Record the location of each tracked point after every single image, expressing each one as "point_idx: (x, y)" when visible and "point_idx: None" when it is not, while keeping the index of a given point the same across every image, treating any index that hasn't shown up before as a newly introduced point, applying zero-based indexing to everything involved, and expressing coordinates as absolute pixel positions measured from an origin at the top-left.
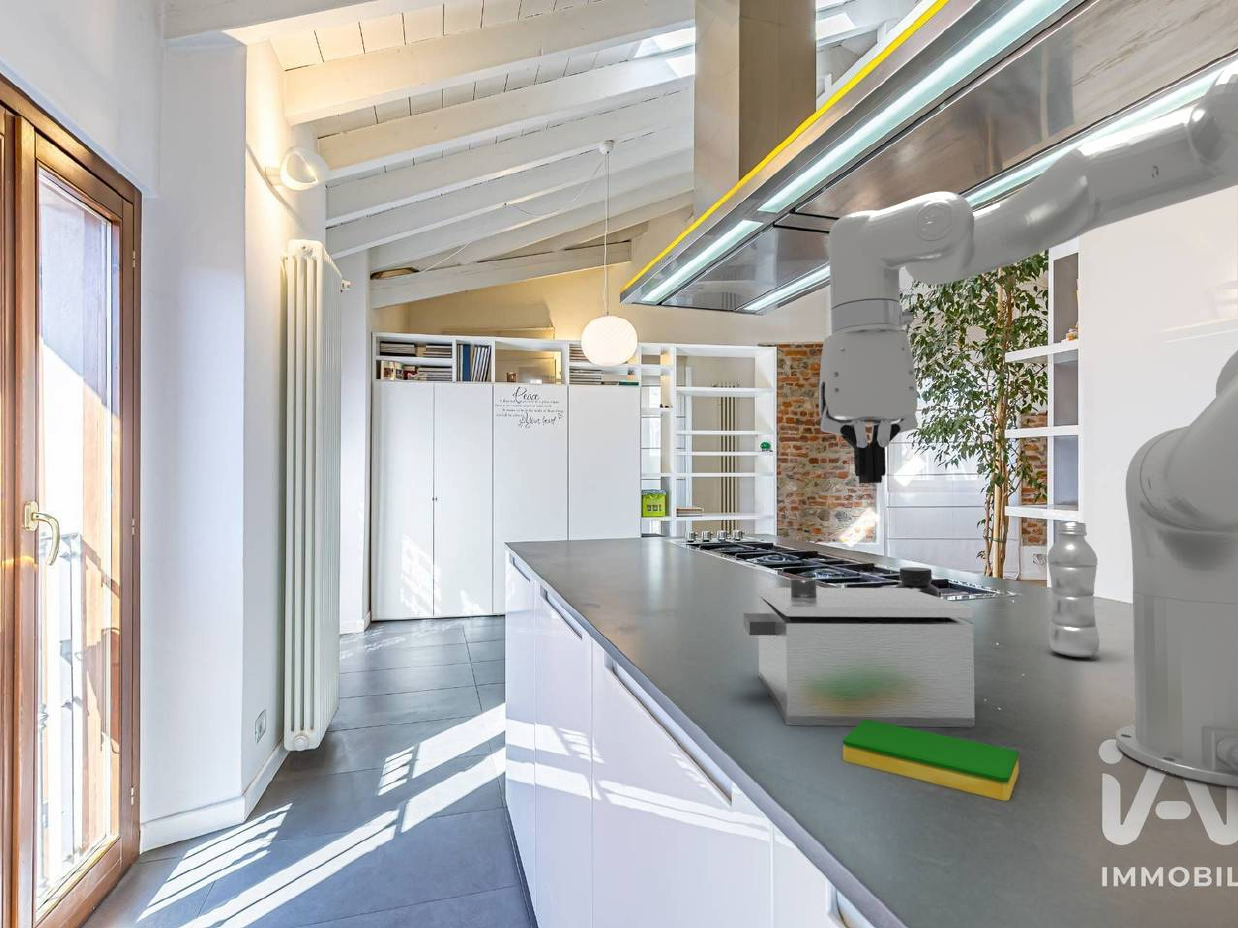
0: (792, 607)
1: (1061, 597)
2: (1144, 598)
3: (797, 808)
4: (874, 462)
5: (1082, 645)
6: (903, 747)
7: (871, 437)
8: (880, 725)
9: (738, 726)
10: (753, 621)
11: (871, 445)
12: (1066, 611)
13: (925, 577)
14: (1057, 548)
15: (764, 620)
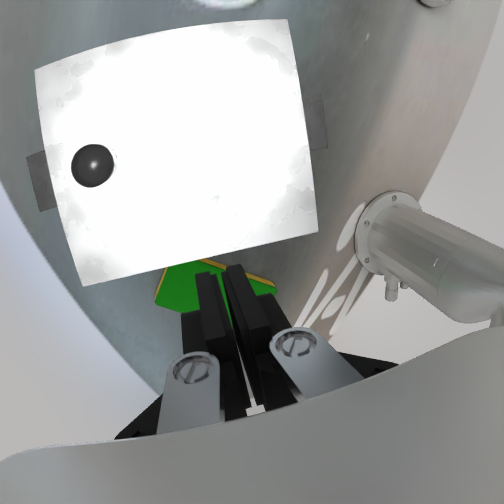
0: (90, 284)
1: None
2: (434, 287)
3: (132, 362)
4: (246, 372)
5: (432, 4)
6: (198, 307)
7: (284, 374)
8: (185, 268)
9: (70, 251)
10: (44, 208)
11: (261, 382)
12: None
13: None
14: None
15: (55, 198)
